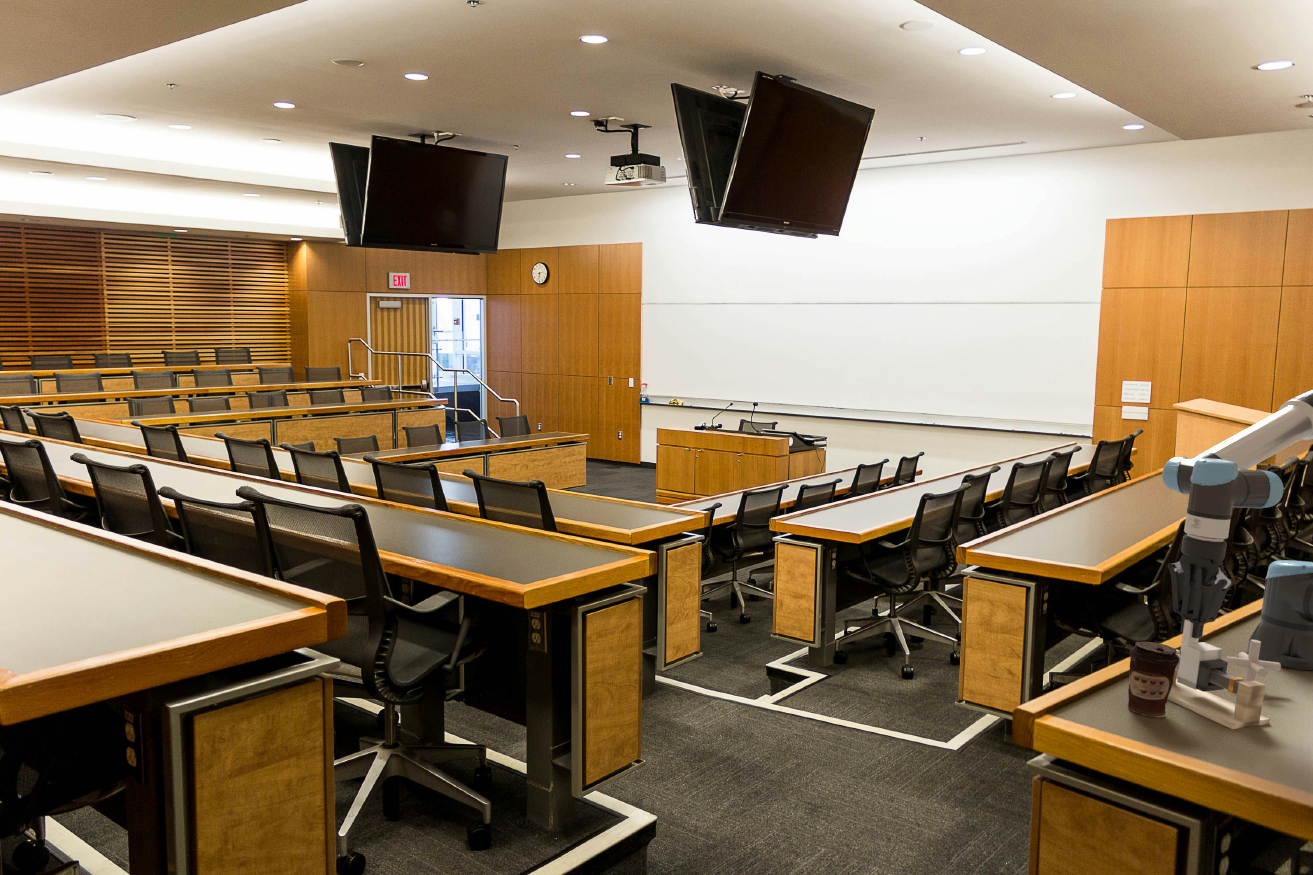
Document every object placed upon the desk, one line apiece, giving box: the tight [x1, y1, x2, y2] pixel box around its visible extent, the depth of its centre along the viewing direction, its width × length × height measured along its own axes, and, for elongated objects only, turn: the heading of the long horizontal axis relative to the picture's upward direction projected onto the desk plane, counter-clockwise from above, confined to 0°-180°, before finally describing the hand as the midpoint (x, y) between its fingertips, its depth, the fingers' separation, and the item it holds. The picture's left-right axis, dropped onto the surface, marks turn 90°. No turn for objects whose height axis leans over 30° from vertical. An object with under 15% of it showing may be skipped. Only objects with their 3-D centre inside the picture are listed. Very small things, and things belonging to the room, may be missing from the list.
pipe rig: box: [1167, 648, 1271, 730], centre depth 182 cm, size 10×20×8 cm, turn 21°
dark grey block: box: [1196, 658, 1229, 692], centre depth 180 cm, size 6×2×6 cm, turn 111°
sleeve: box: [1176, 641, 1223, 690], centre depth 183 cm, size 6×4×8 cm, turn 111°
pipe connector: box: [1224, 640, 1282, 682], centre depth 194 cm, size 10×10×10 cm
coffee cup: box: [1127, 641, 1180, 718], centre depth 176 cm, size 9×8×13 cm
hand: (1188, 651), depth 185 cm, fingers closed
